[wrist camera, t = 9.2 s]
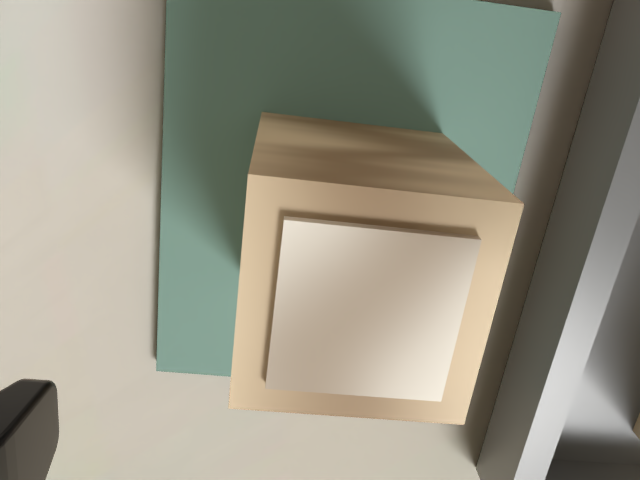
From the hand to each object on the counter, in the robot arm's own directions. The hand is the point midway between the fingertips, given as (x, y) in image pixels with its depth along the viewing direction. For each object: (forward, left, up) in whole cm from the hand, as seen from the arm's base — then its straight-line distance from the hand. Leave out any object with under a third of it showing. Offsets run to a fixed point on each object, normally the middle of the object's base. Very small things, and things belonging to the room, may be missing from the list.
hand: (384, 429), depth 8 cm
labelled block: (0, 0, -9) cm, 9 cm away
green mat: (0, 0, -10) cm, 10 cm away
